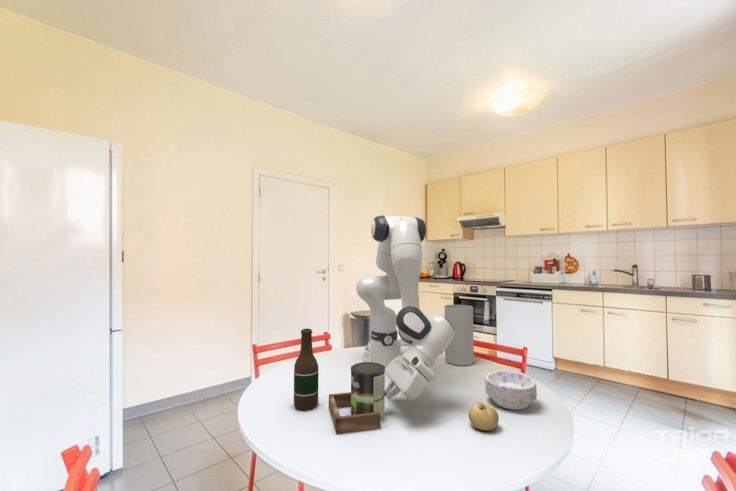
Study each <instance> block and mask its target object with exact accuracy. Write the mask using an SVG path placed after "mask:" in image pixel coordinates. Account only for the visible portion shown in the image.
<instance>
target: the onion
mask: <svg viewBox="0 0 736 491" xmlns="http://www.w3.org/2000/svg"><path fill="white" fill-rule="evenodd" d="M467 415H468V420H469V422H470V424H471V426H473V428H475V429H478V430H480V431H487V432H488V431H492V430H494V429H495V428H496V427H497V425H498V424H499V422H500V418H499V413H498V412H497V410H496V408H495V407H494V406H493V405H492V404H490V403H488V402H482V401H477V402H476V403H473V404H472V405H471V406H470V408H469V409H468V414H467Z"/></svg>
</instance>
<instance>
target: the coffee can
mask: <svg viewBox="0 0 736 491" xmlns="http://www.w3.org/2000/svg"><path fill="white" fill-rule="evenodd" d="M385 368H386V366H383V365H382V364H379V363H374V362H364V361H363V362H362V361H361V362H357V363H354V364H352V365H350V392H351V407H350V415H356V414H365V413H373V412H380V413H381V421H383V420H385V417H386V415H385V412H386V411H385V406H386V405H385V401H386V397H385V390H386V386H385V382H386V381H385V380H386V379H385V376H386V373H385Z"/></svg>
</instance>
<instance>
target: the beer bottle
mask: <svg viewBox="0 0 736 491" xmlns="http://www.w3.org/2000/svg"><path fill="white" fill-rule="evenodd" d="M300 330H301V331H300V334H301V335H300V336H301V339H300V350H299V355H298V356H297V358H296V360H295V362H294V366H293V367H294V368H293V405H294V408H295V410H297V411H302V412H306V411H311V410H315V408H317V407H318V406H319V363H318V360H317V358H316V357H315V356H314V351H313V336H312V335H313V329H311V328H302V329H300Z"/></svg>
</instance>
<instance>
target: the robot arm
mask: <svg viewBox="0 0 736 491" xmlns="http://www.w3.org/2000/svg"><path fill="white" fill-rule="evenodd" d="M370 234H371V237H372V239H373V240H374V241H376V242H378V244H377V251H376V259H375V264H376V266H377V268H378V269H379V270H380V271H381V272H383V273H385V275H370V276H364V277H361V278H360V279H359V280H358V281H357V282H356V286H355V287H356V293H357V295H358V297H359V298H360V299H361V300H363V302H365V303H366V304H367V306H368V308H369V309H370V315H371V328H372V329H371V330H370V339H369V341H368V343H367V345H364V351H365V352H363V354H362V357H363V358H362V359H363V362H374V363H379V364H382V365H383V366H384V367H385V375H386V376H387V377H388V378H389V379H390V380H389V382H388V384H387V386H386V387H385V399H387V400H388V401H391V399H393V397H395V396H397V395H398V394H400V393H401V392H402V394H404V396H405V397H406V398H408V399H409V400H410V401H413V400H416V399H417V397H419V395H420V394H421V393H422V392H423V391H424V390H425V388H426V387H427V386H428V383H429V382H431V381H433V380H434V378H435V374H434V371H433V368H432V367H433V365H434V364H435V362H436V361H437V359H438V357H439V356H440V355H442V354H443V353H445V350H446V348H447V347H448V346H449V344H450V343H451V341H452V340H453V338H454V329H453V327H452V325H451V324H450V322H449V321H448V320H447V319H446V318H445V316H444V315H441V314H433V313H429V312H426V311H424V310H422V309H420V300H419V299H420V298H419V282H420V276H421V270H422V264H423V263H422V262H423V250H422V249H423V248H422V242H423V241H424V240H425V238H426V235H427V224H426V223H425V221H424V219H423V218H419V217H416V216H415V217H412V216H406V215H387V216H386V215H377V216H375V217H374V218H373V219H372V223H371V226H370ZM387 300H388V301H389V300H391V301H392V300H401V309H400V310H399V311H398V313H396V311H395V310H394V309H392V308H390V307H388V306H386V305H385V301H387ZM398 337H400V339H401V340H402V341H403V342H405V343H406V344H409V346H408V348H406V350H405V351H404V352H403V353H402V348H401V346H402V345H401V342H400V341H399V340H398Z"/></svg>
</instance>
